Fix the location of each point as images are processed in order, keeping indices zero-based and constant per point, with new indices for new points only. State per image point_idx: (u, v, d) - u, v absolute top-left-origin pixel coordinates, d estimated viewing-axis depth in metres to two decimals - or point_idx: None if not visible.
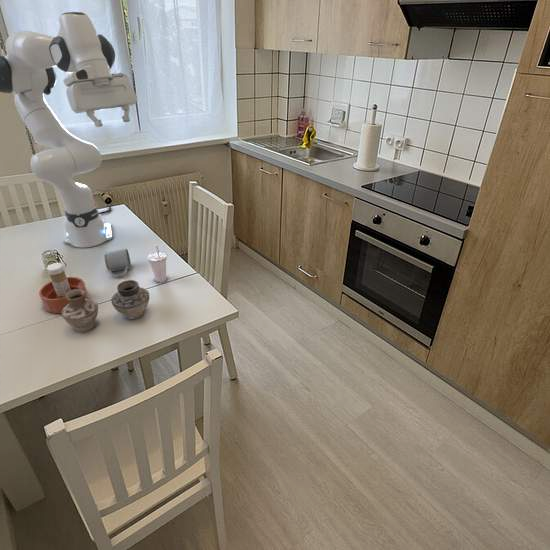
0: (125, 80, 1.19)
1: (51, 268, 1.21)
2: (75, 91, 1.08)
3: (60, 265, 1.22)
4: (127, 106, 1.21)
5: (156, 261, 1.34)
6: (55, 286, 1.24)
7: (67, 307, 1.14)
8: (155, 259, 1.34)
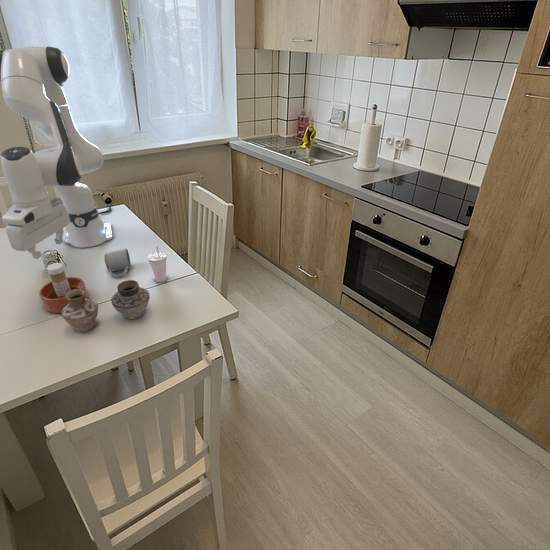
0: (61, 206, 1.19)
1: (51, 268, 1.21)
2: (22, 234, 1.06)
3: (60, 265, 1.22)
4: (61, 229, 1.21)
5: (156, 261, 1.34)
6: (55, 286, 1.24)
7: (67, 307, 1.14)
8: (155, 259, 1.34)
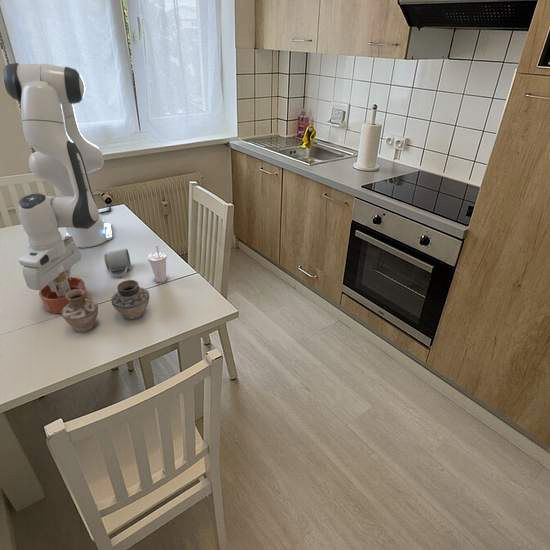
0: (73, 244, 1.26)
1: None
2: (38, 275, 1.13)
3: None
4: (69, 268, 1.27)
5: (156, 261, 1.34)
6: None
7: (67, 307, 1.14)
8: (155, 259, 1.34)
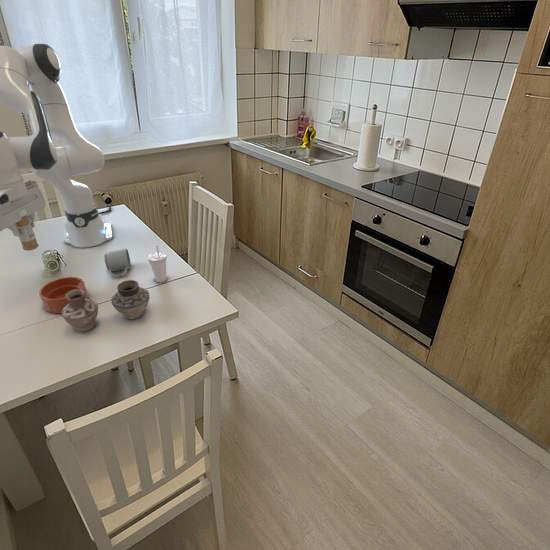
0: (36, 189, 1.24)
1: None
2: None
3: None
4: (33, 214, 1.24)
5: (156, 261, 1.34)
6: None
7: (67, 307, 1.14)
8: (155, 259, 1.34)
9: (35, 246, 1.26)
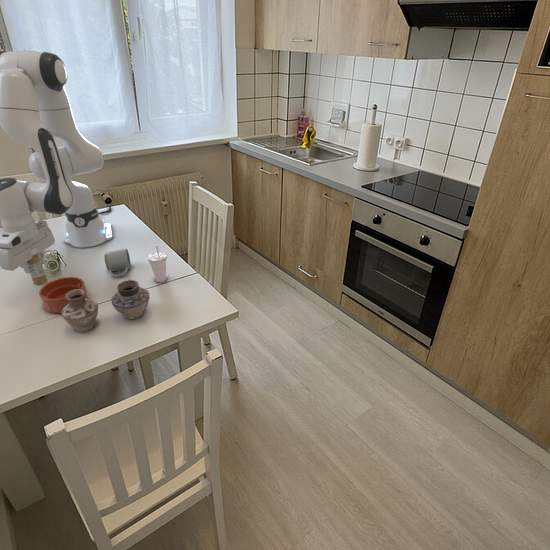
0: (46, 228, 1.32)
1: None
2: (10, 256, 1.18)
3: None
4: (43, 251, 1.32)
5: (156, 261, 1.34)
6: None
7: (67, 307, 1.14)
8: (155, 259, 1.34)
9: (45, 281, 1.34)
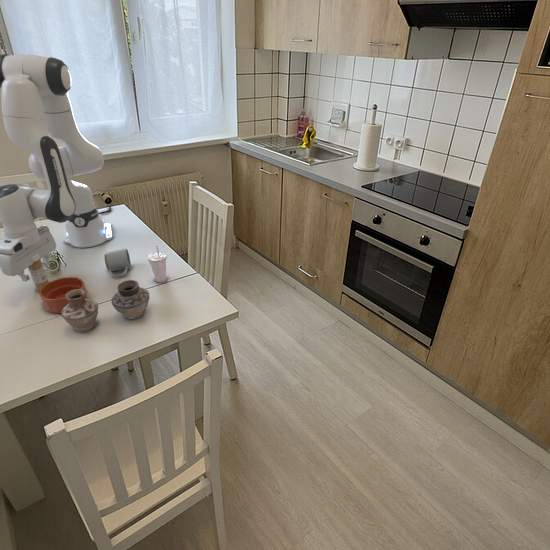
0: (48, 233, 1.33)
1: None
2: (12, 262, 1.20)
3: (36, 254, 1.29)
4: (48, 254, 1.35)
5: (156, 261, 1.34)
6: (32, 274, 1.30)
7: (67, 307, 1.14)
8: (155, 259, 1.34)
9: None
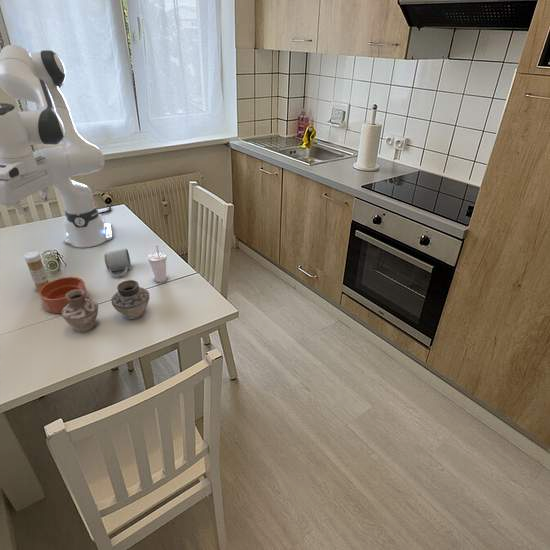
0: (46, 165, 1.23)
1: (28, 256, 1.28)
2: (7, 188, 1.10)
3: (37, 254, 1.29)
4: (47, 188, 1.26)
5: (156, 261, 1.34)
6: (32, 274, 1.30)
7: (67, 307, 1.14)
8: (155, 259, 1.34)
9: None
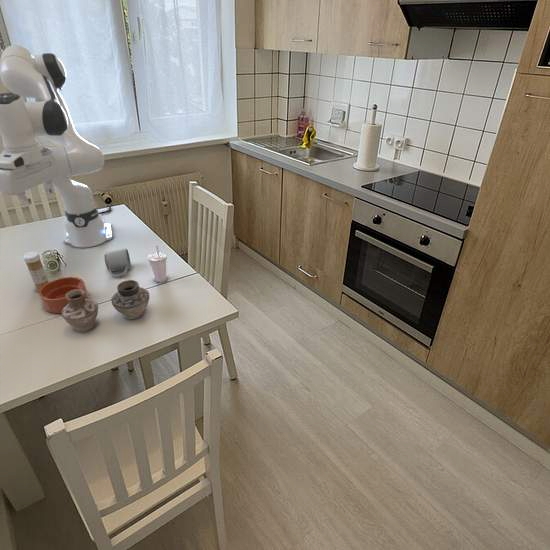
0: (51, 156, 1.23)
1: (27, 256, 1.27)
2: (12, 178, 1.10)
3: (36, 254, 1.29)
4: (51, 180, 1.25)
5: (156, 261, 1.34)
6: (31, 274, 1.30)
7: (67, 307, 1.14)
8: (155, 259, 1.34)
9: None
